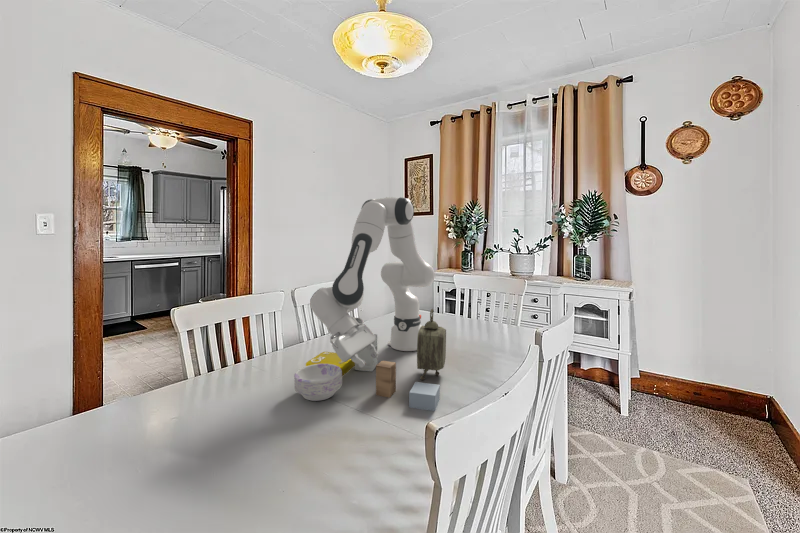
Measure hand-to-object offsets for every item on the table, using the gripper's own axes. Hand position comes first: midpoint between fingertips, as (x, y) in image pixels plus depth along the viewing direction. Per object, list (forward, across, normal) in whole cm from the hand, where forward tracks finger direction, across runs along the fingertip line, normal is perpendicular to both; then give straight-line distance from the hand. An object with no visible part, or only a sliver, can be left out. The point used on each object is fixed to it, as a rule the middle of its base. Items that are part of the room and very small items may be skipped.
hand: (370, 361), depth 123 cm
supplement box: (0, +18, +15) cm, 23 cm away
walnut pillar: (+11, 0, +3) cm, 12 cm away
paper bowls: (-3, -9, +18) cm, 20 cm away
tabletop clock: (+18, +20, -4) cm, 28 cm away
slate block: (+21, -2, -6) cm, 22 cm away
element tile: (-8, +12, +24) cm, 28 cm away
